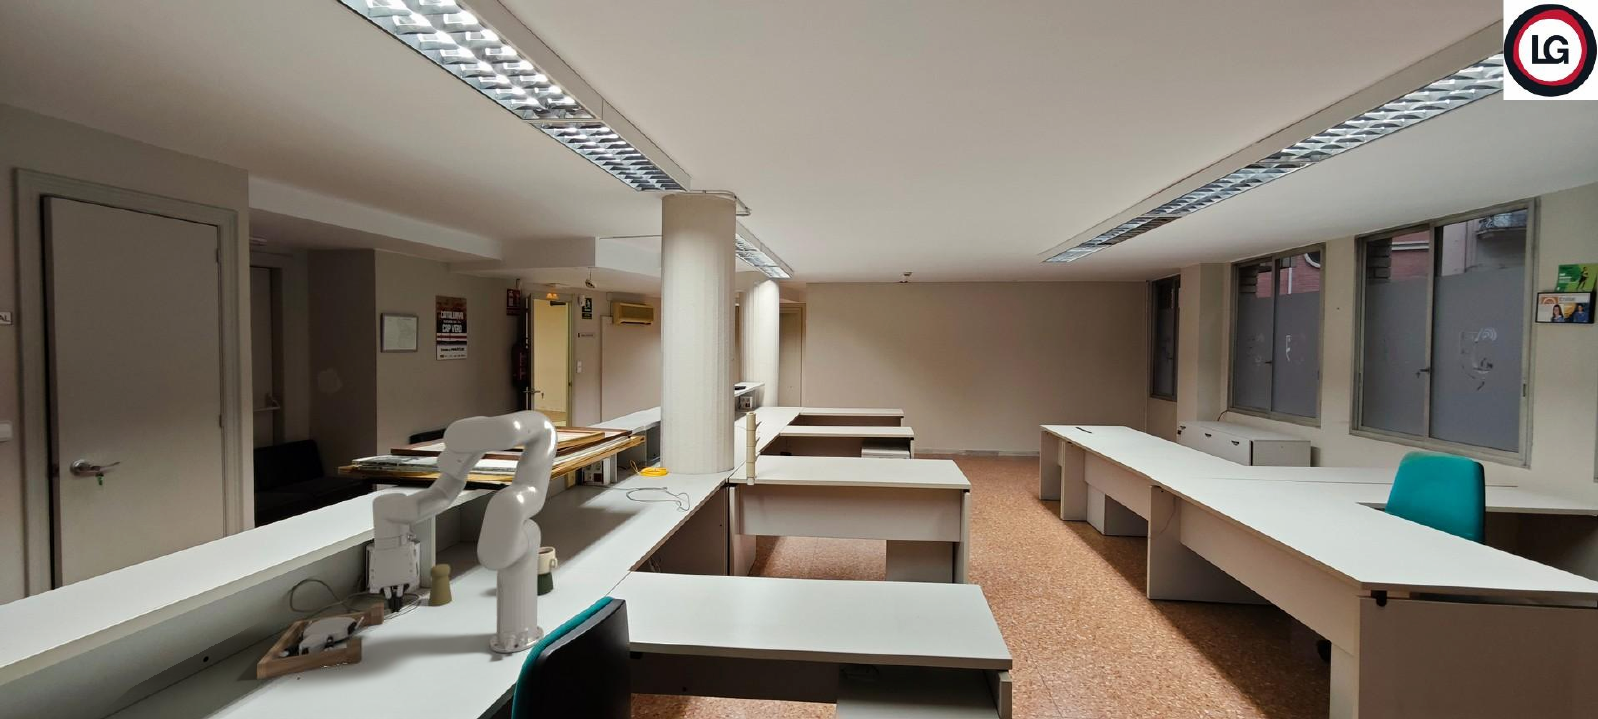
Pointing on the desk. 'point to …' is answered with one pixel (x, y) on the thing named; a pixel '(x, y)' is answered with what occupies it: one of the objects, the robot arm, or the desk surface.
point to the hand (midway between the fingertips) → (396, 610)
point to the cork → (440, 585)
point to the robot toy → (322, 635)
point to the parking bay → (350, 654)
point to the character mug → (545, 569)
